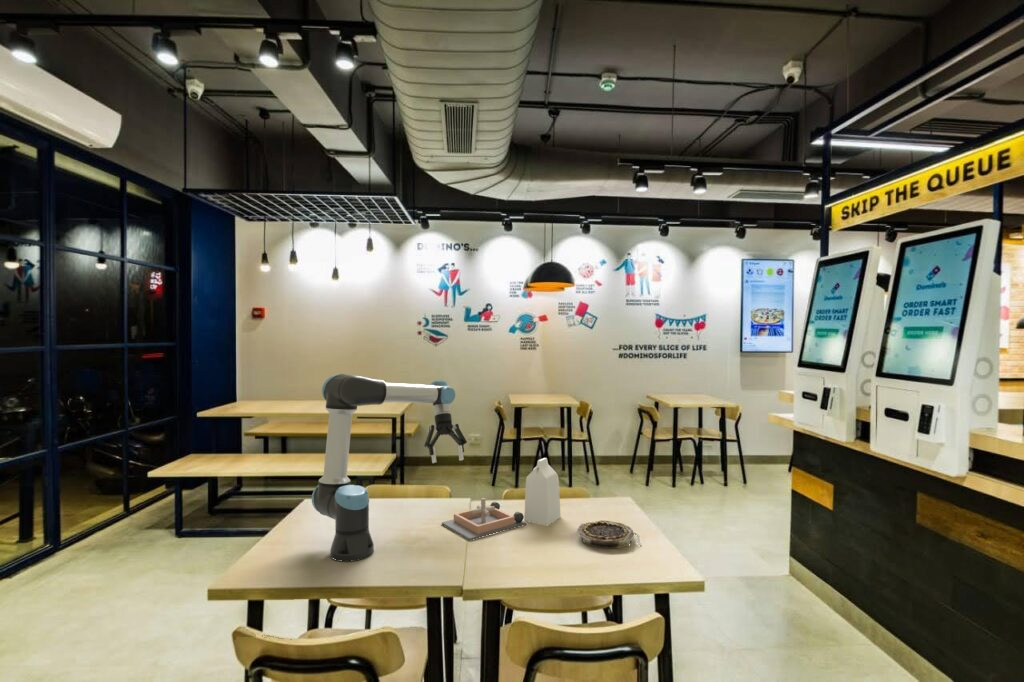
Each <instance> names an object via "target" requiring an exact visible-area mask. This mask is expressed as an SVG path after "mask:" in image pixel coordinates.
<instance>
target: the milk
mask: <svg viewBox="0 0 1024 682" xmlns="http://www.w3.org/2000/svg"><path fill="white" fill-rule="evenodd" d="M559 480H560V479H559V475H558V473H557V472H556V471H555V470H554V469H553V467H552V466H551V465H550V464H549V462H548V458H547V457H543V458H540V459H538V460H537V463H536V466H535V467H534V468H533V469H532V471H530V473H529V474H528V475H527V476H526V478H525V493H524V494H525V495H524V496H525V497H524V514H523V516H524V518H523V521H524V522H527V521H530V522H529V523H531V522H534V523H533V524H536V523H539V524H538V525H541V524H542V525H541V526H546V525H547V526H546V527H549V526H551V523H552V524H554V523H555V522H556V521H558V520H559V519H561V518H562V515H561V514H562V513H561V501H560V499H561V497H560V481H559ZM560 517H561V518H560ZM558 518H559V519H558ZM557 519H558V520H557ZM554 521H555V522H554ZM548 525H549V526H548Z"/></svg>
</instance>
